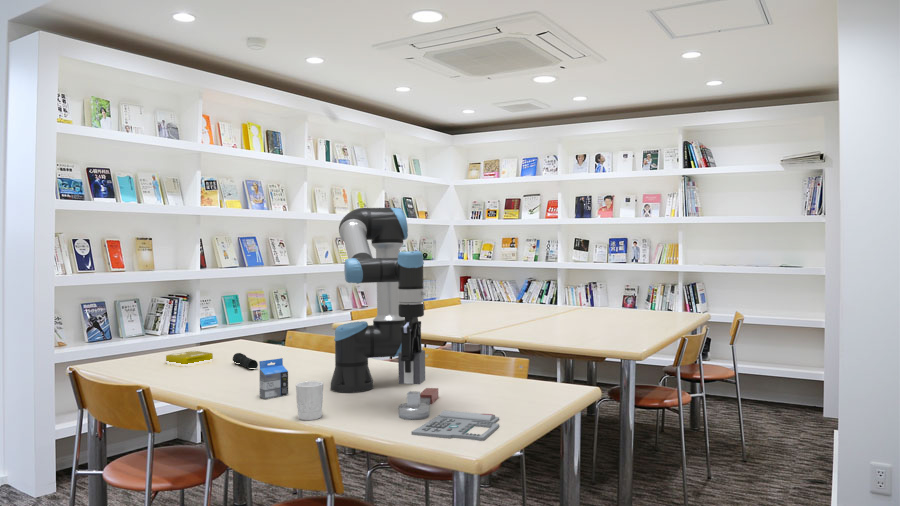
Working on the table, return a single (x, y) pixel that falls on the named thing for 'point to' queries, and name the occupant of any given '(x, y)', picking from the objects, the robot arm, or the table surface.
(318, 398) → the white cup
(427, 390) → the grey and red tool
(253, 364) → the flashlight
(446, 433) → the office telephone
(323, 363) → the table surface
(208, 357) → the element tile
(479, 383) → the table surface
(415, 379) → the dark grey storage bin
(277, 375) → the label tape cartridge
